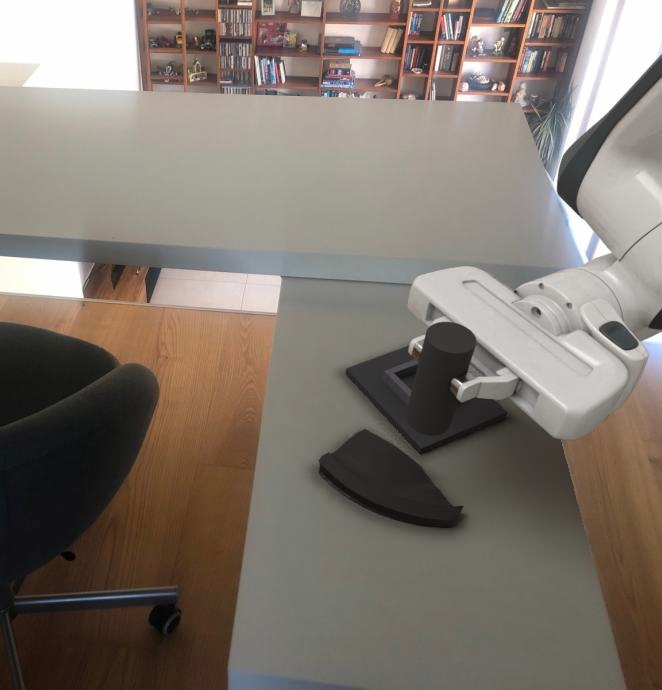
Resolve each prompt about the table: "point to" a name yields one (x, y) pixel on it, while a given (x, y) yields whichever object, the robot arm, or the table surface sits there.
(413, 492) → the dark sector wedge
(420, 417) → the dark cylindrical post
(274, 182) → the table surface
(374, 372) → the base pad
